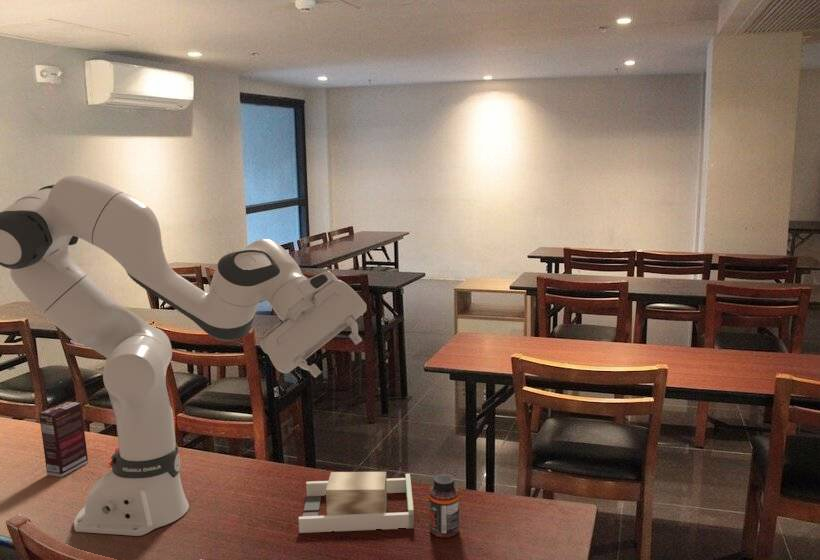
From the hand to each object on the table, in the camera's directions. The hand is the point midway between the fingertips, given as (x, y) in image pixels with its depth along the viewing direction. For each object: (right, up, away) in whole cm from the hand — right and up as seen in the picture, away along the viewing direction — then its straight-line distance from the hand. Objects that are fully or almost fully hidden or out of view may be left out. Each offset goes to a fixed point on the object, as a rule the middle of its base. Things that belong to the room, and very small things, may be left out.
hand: (337, 358), depth 124 cm
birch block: (+2, -35, +22) cm, 41 cm away
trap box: (+2, -35, +22) cm, 41 cm away
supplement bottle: (+20, -36, +13) cm, 43 cm away
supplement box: (-71, -32, +44) cm, 89 cm away
